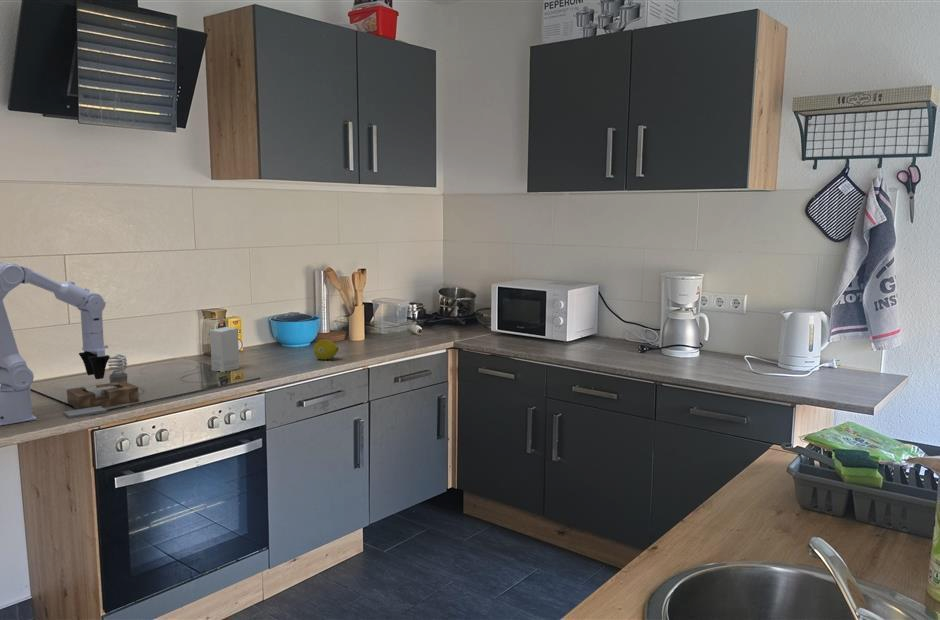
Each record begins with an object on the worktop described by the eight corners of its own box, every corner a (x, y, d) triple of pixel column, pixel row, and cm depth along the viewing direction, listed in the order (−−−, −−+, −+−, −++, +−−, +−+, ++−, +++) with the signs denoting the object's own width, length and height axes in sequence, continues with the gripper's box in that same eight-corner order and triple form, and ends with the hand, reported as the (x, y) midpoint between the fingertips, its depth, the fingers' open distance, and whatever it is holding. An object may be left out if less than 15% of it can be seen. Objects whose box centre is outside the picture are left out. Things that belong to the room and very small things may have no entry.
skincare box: (228, 367, 283) (226, 326, 281) (240, 369, 279) (239, 327, 277) (210, 371, 275) (208, 329, 273) (222, 373, 272) (221, 330, 270)
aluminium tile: (89, 399, 225) (89, 391, 224) (85, 397, 228) (85, 389, 227) (117, 395, 230) (117, 387, 230) (113, 393, 233) (113, 385, 233)
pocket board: (79, 411, 219) (78, 396, 219) (67, 403, 228) (66, 389, 227) (138, 401, 231) (138, 387, 230) (125, 394, 239) (124, 381, 239)
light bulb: (118, 392, 242) (116, 356, 240) (105, 391, 244) (103, 355, 242) (132, 389, 247) (130, 353, 245) (119, 387, 249) (117, 352, 247)
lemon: (308, 359, 297) (308, 340, 296) (322, 356, 303) (322, 337, 302) (328, 362, 291) (328, 342, 290) (342, 359, 297) (342, 339, 296)
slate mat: (69, 418, 211) (69, 415, 211) (63, 414, 215) (63, 411, 215) (106, 412, 218) (106, 409, 218) (100, 408, 222) (100, 405, 222)
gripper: (114, 333, 223) (117, 378, 224) (99, 328, 233) (101, 371, 235) (89, 336, 218) (92, 382, 220) (74, 330, 228) (77, 374, 230)
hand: (95, 376), depth 227 cm, fingers open, 7 cm apart
